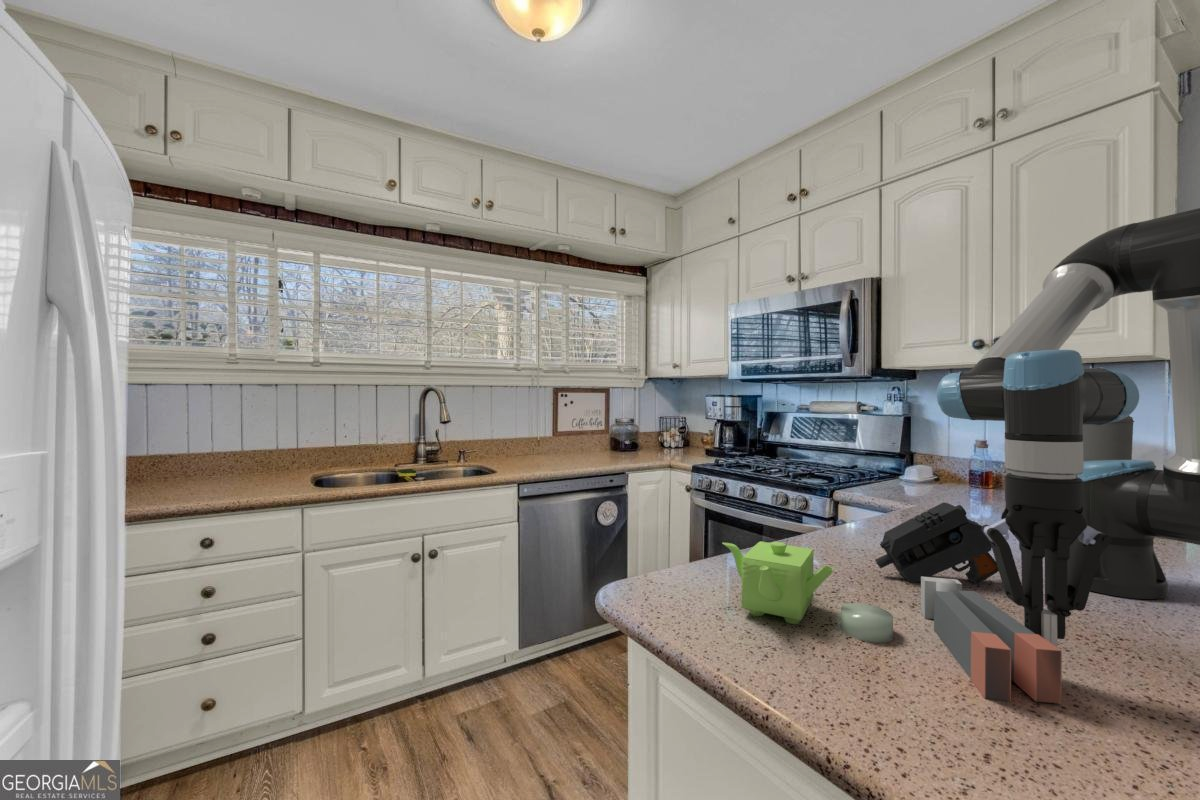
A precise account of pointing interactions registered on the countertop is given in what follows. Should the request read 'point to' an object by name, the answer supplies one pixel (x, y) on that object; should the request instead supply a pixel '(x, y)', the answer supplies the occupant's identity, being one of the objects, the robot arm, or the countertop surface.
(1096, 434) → the canister
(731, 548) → the kettle
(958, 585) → the tongs base
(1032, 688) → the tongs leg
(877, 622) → the grey-green pebble
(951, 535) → the tool
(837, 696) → the countertop surface
